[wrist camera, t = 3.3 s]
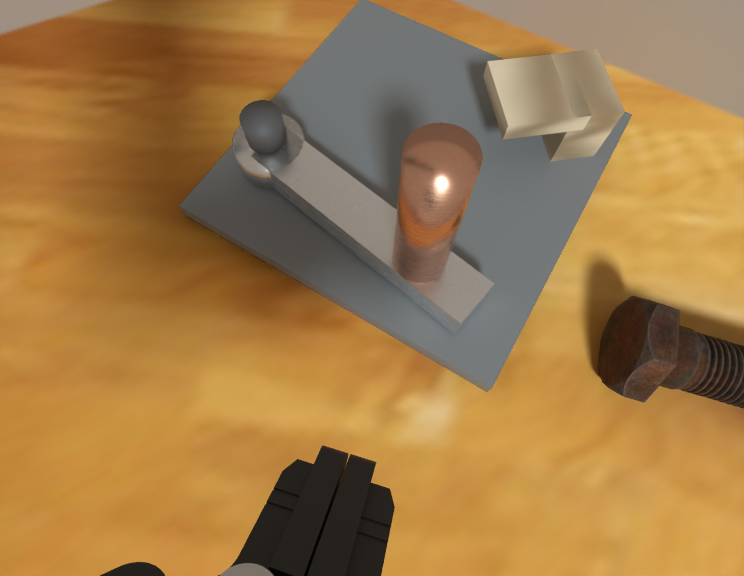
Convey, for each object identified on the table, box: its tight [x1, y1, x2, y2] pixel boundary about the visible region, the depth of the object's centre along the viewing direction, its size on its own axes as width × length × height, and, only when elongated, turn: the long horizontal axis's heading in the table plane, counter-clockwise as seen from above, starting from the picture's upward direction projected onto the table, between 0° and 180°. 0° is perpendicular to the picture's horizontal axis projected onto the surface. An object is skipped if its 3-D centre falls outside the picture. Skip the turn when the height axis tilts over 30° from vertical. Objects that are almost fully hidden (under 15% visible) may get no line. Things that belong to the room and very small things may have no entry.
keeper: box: [483, 49, 625, 161], centre depth 30 cm, size 7×5×4 cm
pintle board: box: [179, 0, 632, 392], centre depth 30 cm, size 22×22×6 cm
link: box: [232, 114, 494, 334], centre depth 24 cm, size 18×4×11 cm, turn 49°
